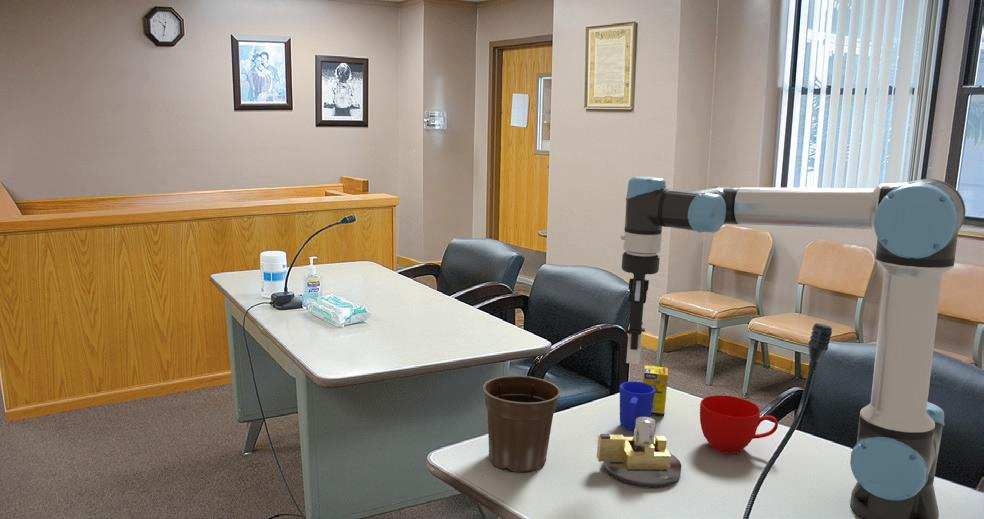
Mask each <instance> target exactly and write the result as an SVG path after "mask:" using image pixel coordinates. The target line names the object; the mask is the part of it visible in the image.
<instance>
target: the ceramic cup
mask: <svg viewBox="0 0 984 519" xmlns="http://www.w3.org/2000/svg"><path fill="white" fill-rule="evenodd" d="M765 420H771V421H773V423H774V426H773V427H772V428H771V430H769V431H766V432H763V433H762V432H761V433H756V432H757V429H758V427H759V426H760V424H761V423H762V422H764V421H765ZM699 422H700V428H701V431H702V434H703V437H704V438H705V440H706V441H707V442H708V444H709V445H710V448H712V449H713V450H715V451H717V452H720V453H722V454H731V455H732V454H738V453H740V452H741V451H742V450H744V449H745V448H746V447H748V445H750V443H751V442H752V440H754V439H762V438H766V437H769V436H771V435H773V434H774V433H775V432H776V431H777V429H778V428H779V422H778V420H777V418H776V417H774V416H773V415H762V416H761V408H760V407H759V406H758V405H757V404H756V403H754V402H752V401H749V400H747V399H744V398H741V397H737V396H731V395H722V394H721V395H719V394H718V395H709V396H706V397H704V398H702V399H701V401H700V403H699Z"/></svg>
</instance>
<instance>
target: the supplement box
mask: <svg viewBox="0 0 984 519" xmlns="http://www.w3.org/2000/svg"><path fill="white" fill-rule="evenodd" d="M668 379H669V369H668V367H664V366H663V367H662V366H657V365H643V377H642V383H646V384H649V385H651V386H653V387H654V388H655V394H654V400H653V405H652V411H651V416H658V417H665V412H666V411H665V410H666V402H667V401H666V400H667V389H668V388H667V387H668Z"/></svg>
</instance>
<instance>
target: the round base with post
mask: <svg viewBox="0 0 984 519" xmlns="http://www.w3.org/2000/svg"><path fill="white" fill-rule="evenodd" d="M655 432H656V420H655V419H654V418H652V417H650V418H649V417H638V418H637V419H636V426H635V438H634V450H633V451H634V452H642V449H643V444H653V445H654V437H655ZM669 454H670V455H671V461H670V470H656V469H626V467H625V465H624V464H623V462H603V466H602V467H603V470H604V471H605V473H606V474H607V475H608V476H609V477H611V478H612V479H614V480H615V481H618V482H620V483H622V484H625V485H627V486H628V485H629V486H631V487H634V488H635V487H636V488H641V489H642V488H644V489H660V488H666V487H667V488H668V487H670V486H672V485H674V484H676V483H678V481H679V480H680V479H681V473H682V463H681V461H680V460H679V459H678V457H677V456H675V455H674V454H672V453H671V452H669Z"/></svg>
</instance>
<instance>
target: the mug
mask: <svg viewBox="0 0 984 519" xmlns="http://www.w3.org/2000/svg"><path fill="white" fill-rule="evenodd" d="M654 394H655V388H654V387H653V386H651V385H649V384H646V383H643V381H634V380H633V381H626V382H622V383H620V384H619V424H620V426H621V427H622V428H623V429H625V430H627V431H632V432H634V429H635V426H636V419H637V418H638V417H649V418H652V415H651V411H652V405H653V400H654Z"/></svg>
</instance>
